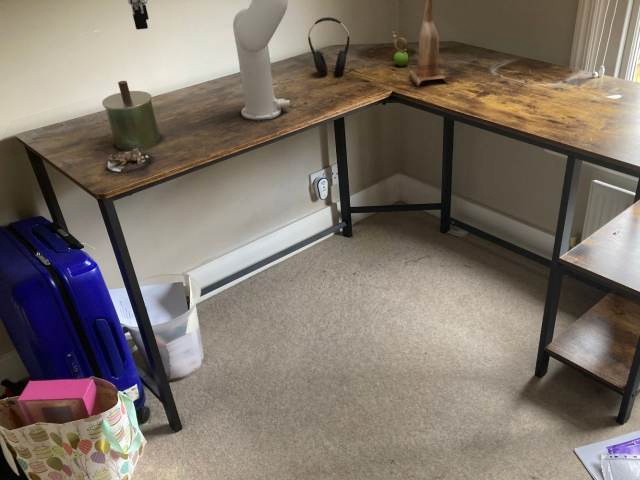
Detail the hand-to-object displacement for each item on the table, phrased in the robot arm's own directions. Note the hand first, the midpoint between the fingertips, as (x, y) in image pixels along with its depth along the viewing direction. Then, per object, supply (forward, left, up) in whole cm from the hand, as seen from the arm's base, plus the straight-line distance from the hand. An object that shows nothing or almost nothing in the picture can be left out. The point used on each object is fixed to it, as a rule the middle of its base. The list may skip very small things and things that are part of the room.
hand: (142, 24), depth 185 cm
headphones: (-59, -30, -30) cm, 73 cm away
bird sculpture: (-91, -13, -30) cm, 97 cm away
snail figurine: (-86, -32, -30) cm, 97 cm away
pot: (+8, +11, -30) cm, 33 cm away
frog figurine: (+10, +25, -30) cm, 41 cm away
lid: (+8, +11, -18) cm, 22 cm away
